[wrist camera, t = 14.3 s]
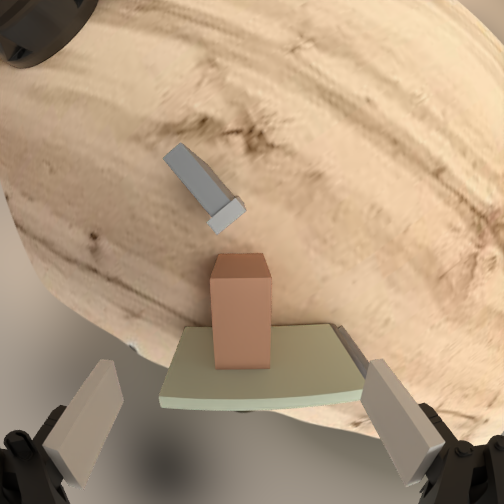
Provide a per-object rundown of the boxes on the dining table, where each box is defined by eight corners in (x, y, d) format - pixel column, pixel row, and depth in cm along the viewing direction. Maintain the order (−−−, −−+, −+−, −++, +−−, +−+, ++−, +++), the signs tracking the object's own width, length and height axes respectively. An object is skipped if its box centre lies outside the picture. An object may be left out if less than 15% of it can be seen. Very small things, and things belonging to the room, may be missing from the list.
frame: (194, 175, 26) (155, 161, 13) (210, 162, 25) (184, 136, 13) (352, 365, 30) (397, 440, 18) (365, 355, 30) (415, 427, 18)
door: (187, 344, 28) (163, 417, 17) (185, 326, 28) (158, 396, 17) (334, 340, 29) (374, 407, 18) (336, 323, 28) (380, 386, 17)
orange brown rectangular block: (218, 253, 27) (209, 278, 19) (263, 253, 27) (271, 277, 19) (221, 324, 28) (215, 369, 21) (262, 324, 29) (270, 368, 21)
